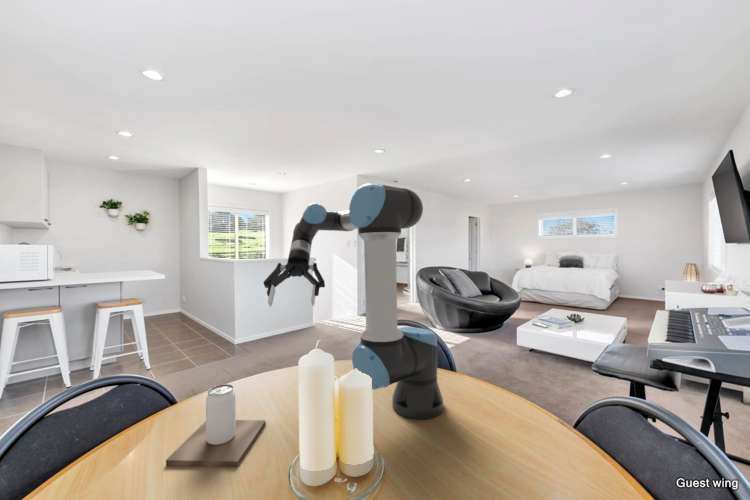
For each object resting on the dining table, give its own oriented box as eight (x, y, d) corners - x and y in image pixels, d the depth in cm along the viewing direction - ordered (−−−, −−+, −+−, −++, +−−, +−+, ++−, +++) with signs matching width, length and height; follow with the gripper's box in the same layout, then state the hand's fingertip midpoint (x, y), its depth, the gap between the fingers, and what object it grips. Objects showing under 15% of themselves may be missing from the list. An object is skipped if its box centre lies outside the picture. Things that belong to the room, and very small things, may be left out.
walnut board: (265, 424, 84) (265, 420, 84) (237, 466, 68) (237, 461, 68) (207, 423, 85) (207, 419, 85) (166, 465, 69) (165, 460, 69)
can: (241, 433, 78) (241, 386, 78) (218, 449, 73) (218, 397, 72) (223, 427, 81) (222, 381, 81) (200, 441, 75) (199, 392, 75)
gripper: (334, 261, 119) (331, 309, 104) (267, 262, 117) (254, 310, 103) (333, 248, 113) (329, 296, 99) (262, 248, 112) (248, 297, 97)
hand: (291, 303), depth 100 cm, fingers open, 13 cm apart
